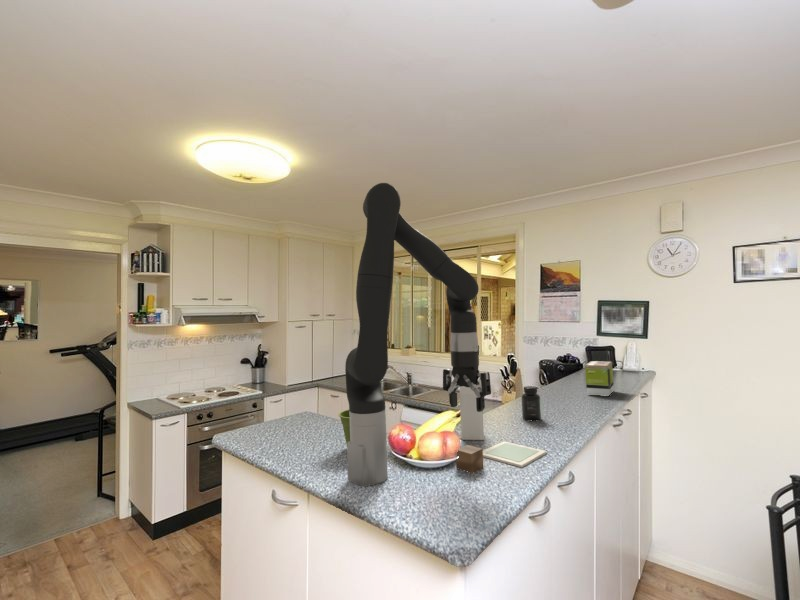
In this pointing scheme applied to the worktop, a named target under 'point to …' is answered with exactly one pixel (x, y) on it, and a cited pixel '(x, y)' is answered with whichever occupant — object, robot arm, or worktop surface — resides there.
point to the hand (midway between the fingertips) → (466, 408)
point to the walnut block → (470, 458)
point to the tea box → (599, 377)
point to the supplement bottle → (531, 404)
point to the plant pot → (345, 423)
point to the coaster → (513, 453)
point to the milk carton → (470, 415)
